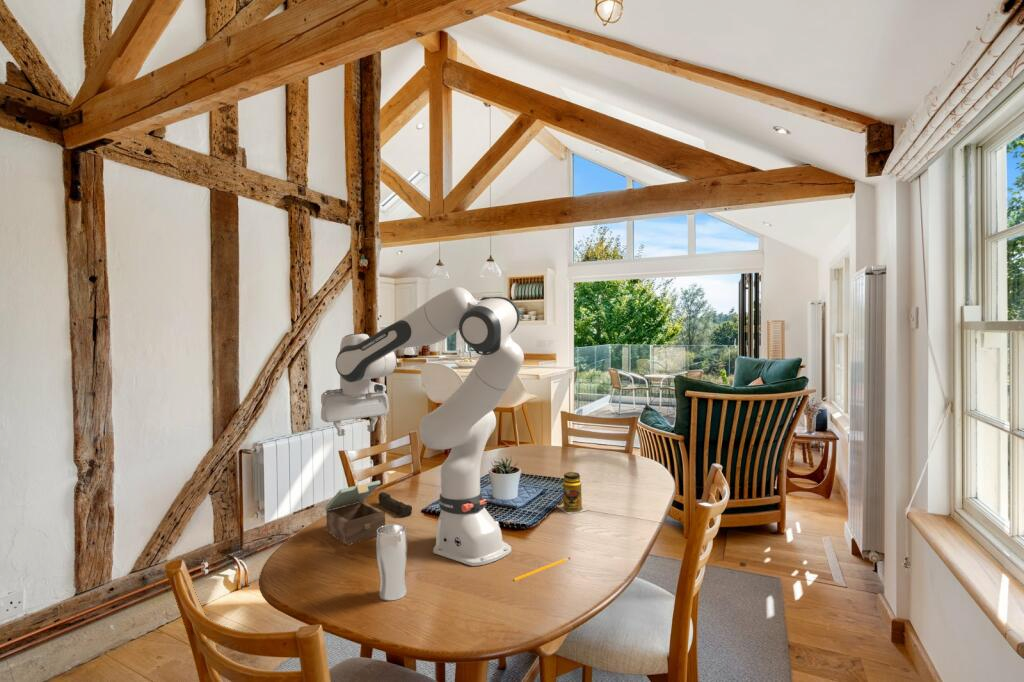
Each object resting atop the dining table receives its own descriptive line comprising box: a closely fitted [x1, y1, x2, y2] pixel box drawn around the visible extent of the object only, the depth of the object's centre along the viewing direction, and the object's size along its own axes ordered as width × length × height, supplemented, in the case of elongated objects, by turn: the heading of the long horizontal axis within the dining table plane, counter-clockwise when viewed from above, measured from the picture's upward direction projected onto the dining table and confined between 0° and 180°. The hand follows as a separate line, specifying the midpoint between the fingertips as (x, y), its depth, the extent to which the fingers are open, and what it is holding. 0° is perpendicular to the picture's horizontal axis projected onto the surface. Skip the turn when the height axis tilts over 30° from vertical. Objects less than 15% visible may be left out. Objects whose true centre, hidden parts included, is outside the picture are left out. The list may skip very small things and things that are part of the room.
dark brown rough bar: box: [378, 491, 413, 518], centre depth 171 cm, size 19×4×5 cm, turn 40°
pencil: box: [512, 556, 571, 582], centre depth 126 cm, size 1×18×1 cm, turn 127°
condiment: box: [556, 471, 587, 515], centre depth 168 cm, size 7×8×12 cm
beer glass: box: [375, 523, 408, 602], centre depth 115 cm, size 7×7×15 cm
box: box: [325, 500, 386, 546], centre depth 151 cm, size 15×12×6 cm
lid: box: [324, 480, 381, 512], centre depth 152 cm, size 15×12×3 cm
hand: (356, 433), depth 151 cm, fingers open, 8 cm apart
